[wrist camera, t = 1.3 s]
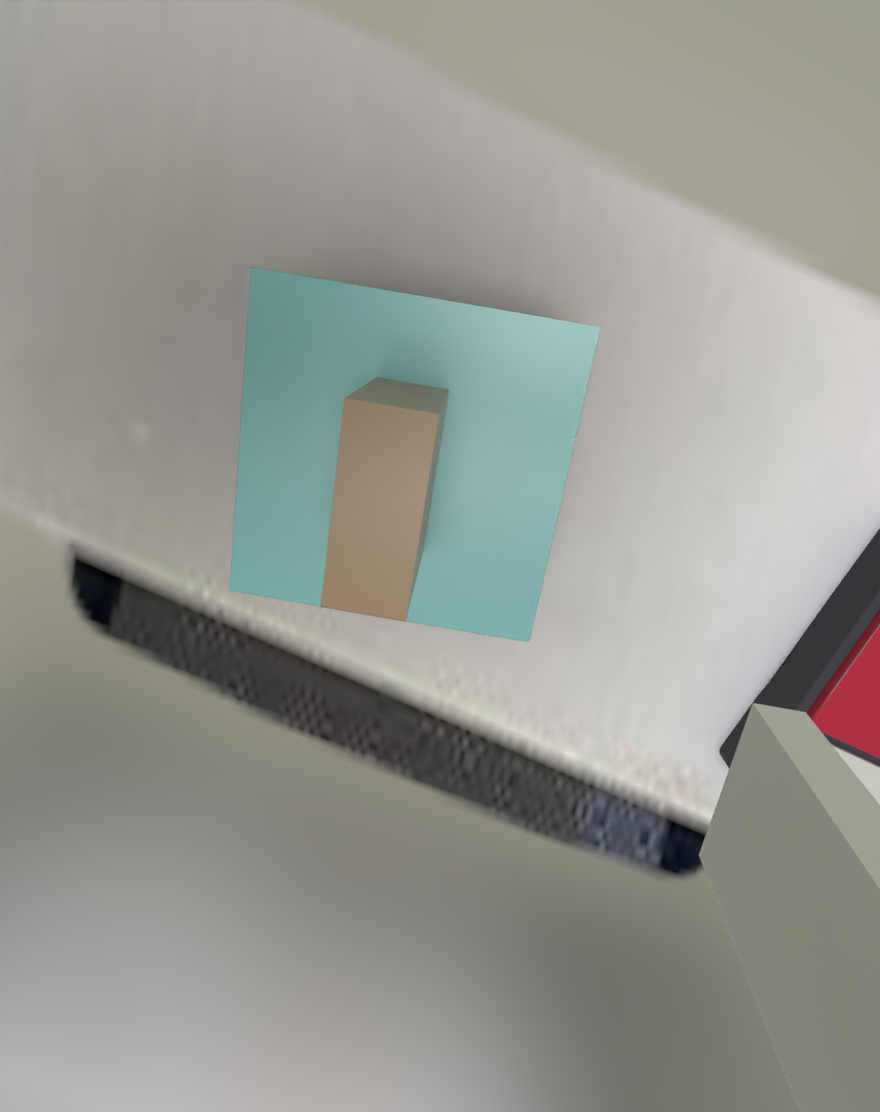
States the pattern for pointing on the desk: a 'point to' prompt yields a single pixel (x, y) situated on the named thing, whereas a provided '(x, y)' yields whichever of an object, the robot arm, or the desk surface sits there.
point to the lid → (403, 452)
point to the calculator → (837, 673)
